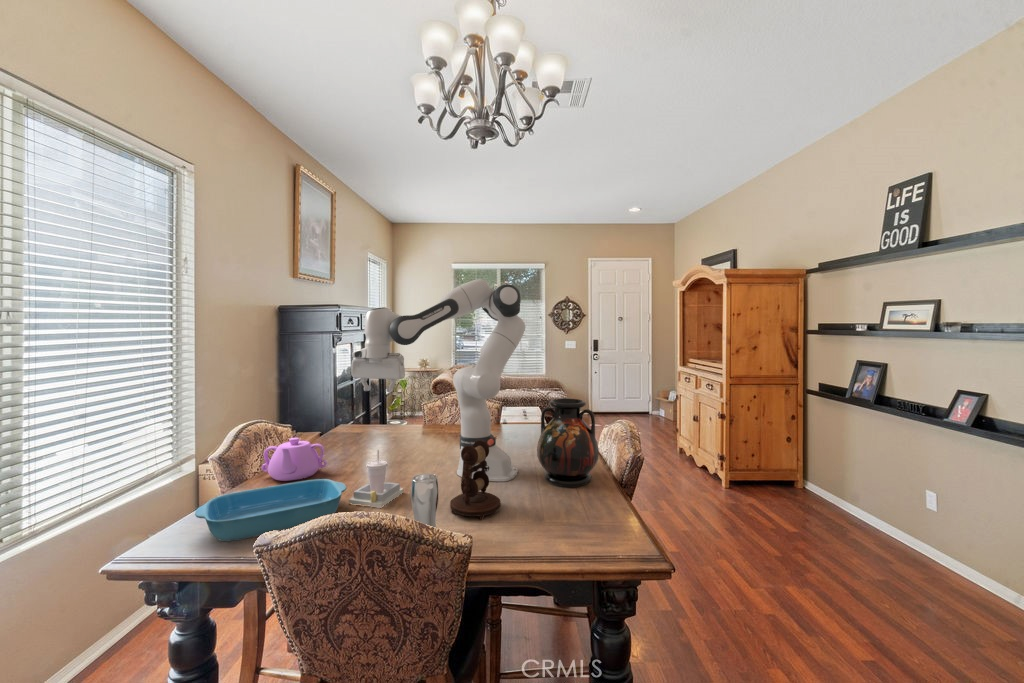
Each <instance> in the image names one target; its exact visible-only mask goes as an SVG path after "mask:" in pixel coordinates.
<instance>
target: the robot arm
mask: <svg viewBox="0 0 1024 683" xmlns="http://www.w3.org/2000/svg"><path fill="white" fill-rule="evenodd" d="M521 300H522V299H521V293H520V290H519V289H518V288H517V287H516V286H514V285H513V284H509V283H506V284H501V285H499V286H498V287H496V289H493V288H492V287H491V285H490V283H488V282H487V281H486V280H485V279H483V278H476V279H474V280H470V281H468V282H465V283H463V284H459V285H458V286H456V287H454V288H452V289H450V290H448V292H446V293H445V294H444V295H443V296H442V297H441V299H440V300H439V301H438V302H437V303H436V304H434V305H432V306H430V307H429V308H427V309H425V310H423V311H421V312H419V313H416V314H411V315H410V314H409V315H408V314H407V315H400V314H399V313H396V312H393V311H392V310H390V309H389V308H388V307H385V306H384V307H376V308H371V309H370V310H368V311H367V312H366V314H365V318H364V335H365V342H364V348H363V347H362V348H361V349H358V350H354V351H353V352H352V353H351V356H352V358H353V359H352V361H351V365H350V374H351V377H352V378H353V379H360V383H361V384H362V386H363V391H364V392H369V391H370V390H371V385H369V384H368V382H367V381H368V380H369V379H370V380H371V379H373V380H374V379H376V380H388V382H389V386H386V392H387V393H388V392H390V393H391V392H393V391H394V386H395V384H396V382H397V380H402V379H404V378H405V376H406V369H405V357H404V355H402V354H401V353H400V352H396V353H395V352H391V350H392V349H391V343H392V342H395V343H396V344H398V345H402V346H409V345H412V344H413V343H416V341H417V340H418V339H419V337H421V336H422V335H421V334H423V333H424V332H425V331H427V330H429V329H431V328H433V327H434V326H436V325H438V324H440V323H442V322H444V321H446V320H450V319H457V318H461V317H464V316H466V315H469V314H471V313H472V312H474V311H476V310H479V309H482V310H483V311H484V312H485V313H486V314H487V315H488V316H489V318H490V319H492V320H493V321H496V322H497V323H496V326H495V328H494V329H493V331H492V332H491V333H490V334H489V336H488V337H487V339H486V340H485V342H484V343H483V345H482V346H481V347H480V350H479V351H480V355H479V358H478V361H477V363H476V364H475V366H464V367H461V368H459V369H458V370H456V371H455V373H454V374H453V377H452V384H453V386H454V388H455V392H456V396H457V403H458V407H459V412H460V435H459V450H460V451H459V452H460V454H459V461H458V465H457V466H458V467H457V470H456V474H457V475H458V476H459V477H461V478H462V472H463V460H462V458H461V451H462V449H463V448H464V447H465V446H467V445H470V446H473V444H474V443H475V442H476V441H478V440H482V441H484V442H486V443H487V445H488V447H489V454H488V456H487V457H486V459H485V461H486V462H487V466H486V468H485V472H486V474H487V476H488V478H489V482H508V481H511V480H513V479H514V478H515V477H516V476H517V475H518V468H517V467H516V466H512V465H513V464H512V459H511V457H510V455H509V454H508V453H507V452H506V451H504V450H503V449H502V448H501V447H499V445H497V435H493V434H492V431H491V430H492V429H491V427H492V426H491V425H492V424H491V423H492V420H491V418H492V416H491V411H490V409H489V407H488V404H487V400H490V399H493V398H495V397H496V396H497V395H498V394H499V392H500V390H501V378H502V374H503V372H504V369H505V366H506V365H507V363H508V361H509V359H511V356H512V355H513V353H514V352H515V350H516V349H517V348H518V345H519V344H520V342H521V340H522V338H523V336H524V333H525V331H526V324H525V321H524V320H523V319H522V317H520V316H519V315H518V314H520V312H521ZM478 464H479V463H478ZM478 464H476V465H478ZM476 465H475V466H476ZM481 470H482V469H481V468H479V470H477V471H481ZM477 471H475V472H477ZM475 472H473V473H472V479H473V475H474V473H475Z"/></svg>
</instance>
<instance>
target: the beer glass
mask: <svg viewBox="0 0 1024 683" xmlns="http://www.w3.org/2000/svg"><path fill="white" fill-rule="evenodd" d="M439 492H440V491H439V479H438V475H437V474H434V473H419V474H415V475H414V476H412V477H411V488H410V500H411V506H412V508H411V509H412V512H413V513H412V514H413V518H414V521H415V520H416V521H419V522H422V523H424V524H427V525H430V526H433V527H436V528H437V525H436V524H437V523H436V519H437V510H438V503H439Z"/></svg>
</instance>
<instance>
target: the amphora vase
mask: <svg viewBox="0 0 1024 683" xmlns="http://www.w3.org/2000/svg"><path fill="white" fill-rule="evenodd" d="M548 405H550V406H551V407H550V406H549V407H545V408H543V410H542V412H541V414H540V436H539V439H538V441H537V447H536V455H537V460H538V462H539V463H540V465H541V467H542V469H544V470H545V472H544V475H543V478H544V479H545V481H546V482H548V483H549V484H552V485H555V486H557V487H563V488H564V487H565V488H574V487H575V488H576V487H582V486H584V485H585V486H586V485H587V484H589V482H591V480H592V475H591V471H592V470H593V469H594V468H595V467H596V465H597V463H598V460H599V453H600V452H599V446H598V444H599V443H598V441H597V439H596V419H595V418H596V417H595V414H594V412H593V411H592V410H591V409H587V408H586V409H583V410H582V411H581V409H582V408H583V407H586V406H587V403H586V401H585V400H582V399H577V398H555V399H551V400H549V402H548ZM553 408H554V409H553ZM547 412H550V413H551V414H552V419H551V420H550V421H549V422H548V423H547V424H546V421H545V417H546V413H547ZM584 414H589V416H590V421H591V427H589V425H588V424H587V423H586V422H585V420H584V419H583V417H584Z"/></svg>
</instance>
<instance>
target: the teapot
mask: <svg viewBox="0 0 1024 683" xmlns="http://www.w3.org/2000/svg"><path fill="white" fill-rule="evenodd" d="M315 447H316V448H319V449H320V455H319V454H318V451H317V450H316V449H315ZM271 450H274V452H273V453H272V455H271V457H270V458H269V456H268V455H269V454H268V452H269V451H271ZM324 455H325V447H324V445H322V444H321V443H313V444H312V443H311V442H310V441H308V440H300V437H290V438H289V439H288V441H286V442H283V443H281V444H279V445H278V446H275V445H272V446H268V447H267V448H265V450H264V451H263V459H264V462H265V463H263V464H262V465H261V469H260V470H261V471H262V472H264V473H265V472H266V473H268V474H269V476H270V477H271V478H272V479H273V480H276V481H284V482H288V481H296V480H304V479H306V478H310V477H312V476H314V475H315V474H316V473H317V472H318V470H319V469H323V468H325V467H327V465H328V462H327V459H323V458H324ZM322 463H323V464H322ZM303 478H304V479H303Z"/></svg>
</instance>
